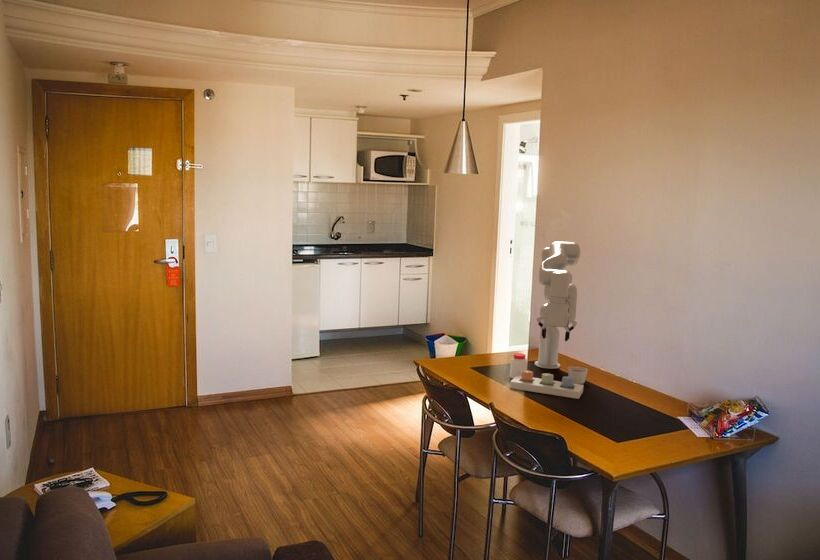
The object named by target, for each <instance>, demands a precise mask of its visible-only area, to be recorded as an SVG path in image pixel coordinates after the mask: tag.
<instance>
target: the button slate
mask: <svg viewBox="0 0 820 560" xmlns="http://www.w3.org/2000/svg"><path fill="white" fill-rule="evenodd" d="M561 382H562V387H563V388H569V389H571V388H573V387H574V378H573V377H569V376H568V375H567V376H566V375H565V376H562V379H561Z"/></svg>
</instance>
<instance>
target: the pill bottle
mask: <svg viewBox="0 0 820 560" xmlns="http://www.w3.org/2000/svg"><path fill="white" fill-rule="evenodd" d="M528 363H529V362H528V359H527V358H526V354H525V353H521V352H520V353H519V352H517V353H513V357H512V358H510V367H509V378H510V379H511V380H513V379H514V378H515V377H516V376H517V375H520V376H522V371H524V370H528Z"/></svg>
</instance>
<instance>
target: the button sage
mask: <svg viewBox="0 0 820 560" xmlns="http://www.w3.org/2000/svg"><path fill="white" fill-rule="evenodd" d="M541 379H542V381H541V384H543V385H553V381H554V374H553V373H552V374H551V373H541Z"/></svg>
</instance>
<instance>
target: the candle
mask: <svg viewBox="0 0 820 560" xmlns="http://www.w3.org/2000/svg"><path fill="white" fill-rule="evenodd" d="M588 371H589V370H588V368H586V367H583V366H577V365H575V366H571V365H570V366H568V367H567V374H568V375H567V376H569V377H573V378H574V384H580V385H584V384H585V382H586V378H587V374H588Z"/></svg>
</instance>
